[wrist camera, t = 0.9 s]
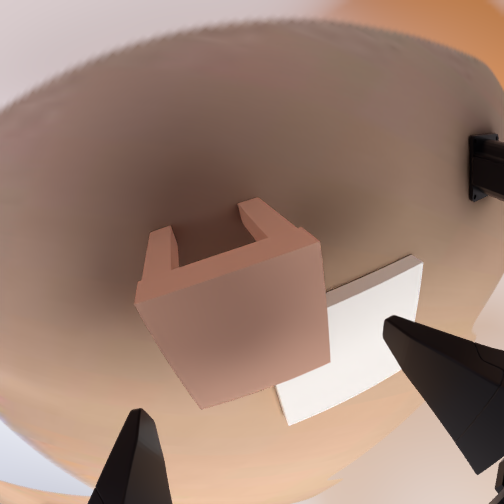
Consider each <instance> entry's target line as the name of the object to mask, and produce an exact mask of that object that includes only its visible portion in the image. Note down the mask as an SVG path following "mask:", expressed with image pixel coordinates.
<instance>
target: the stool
mask: <svg viewBox="0 0 504 504" xmlns="http://www.w3.org/2000/svg"><path fill="white" fill-rule="evenodd" d="M237 204H238V208H239V212H240V216H241V219H242V223H243V225H244V226H245V227H246V228H247V230H248V231H249V232H250V234H251V235H252V236H253V238H254V239H255V240H256V241H257V242H254V243H251V244H248V245H245V246H242V247H239V248H236V249H233V250H230V251H227V252H224V253H221V254H218V255H215V256H212V257H209V258H206V259H203V260H200V261H197V262H194V263H191V264H188V265H185V266H182V267H179V256H178V244H177V242H176V239H175V236H174V233H173V231H172V228H171V225H170V226H167V227H164V228H161V229H158V230H155V231H152V232H150V235H149V241H148V246H147V251H146V257H145V263H144V269H143V275H142V280H141V281H138V283H137V289H136V295H135V302H134V305H135V307H136V309H137V311H138V313H139V314H140V316H141V318H142V320H143V322H144V323H145V325H146V327H147V329H148V330H149V332H150V334H151V335H152V337H153V339H154V340H155V342H156V344H157V345H158V347H159V349H160V350H161V352H162V353H163V355H164V357H165V358H166V360H167V361H168V363H169V364H170V366H171V367H172V369H173V370H174V372H175V374H176V375H177V376H178V378H179V379H180V381H181V382H182V384H183V385H184V387H185V388H186V390H187V391H188V392H189V394H190V395H191V397H192V398H193V399H194V401H195V402H196V404H197V405H198V406H199V408H200V409H205V408H208V407H212V406H215V405H219V404H222V403H225V402H229V401H232V400H235V399H238V398H241V397H244V396H247V395H250V394H253V393H256V392H259V391H262V390H264V389H267V388H270V387H272V386H275V385H278V384H280V383H283V382H286V381H288V380H291V379H293V378H295V377H298V376H300V375H303V374H305V373H307V372H310V371H312V370H314V369H317V368H319V367H321V366H323V365H326V364H328V363H330V362H331V361H330V342H329V326H328V313H327V301H326V290H325V280H324V270H323V261H322V252H321V244H320V241H319V240H318V239H317V238H315V237H314V236H313V235H311V234H310V233H309V232H308V231H306V230H305V229H304V228H302V227H299V228H297V227H295V226H294V225H293V224H292V223H290V222H289V221H288V220H287V219H285V218H284V217H283V216H282V215H280V214H279V213H278V212H276V211H275V210H274V209H273V208H271V207H270V206H269V205H268V204H266V203H265V202H264V201H262V200H261V199H260V198H259V197H257V198H253V199H250V200H247V201H243V202H240V203H237Z"/></svg>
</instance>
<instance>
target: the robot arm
mask: <svg viewBox="0 0 504 504" xmlns="http://www.w3.org/2000/svg"><path fill="white" fill-rule="evenodd" d="M488 195H489V196H492V197H494V198H497V199H499V200H502V201H504V142H500V141H499V140H498V135H497V134H495V133H490V134H479V135H471V137H470V200H471V201H473V202H475V201H477V200H480V199H482V198H484V197H486V196H488ZM382 335H383V339H384V341H385V343H386V344H387V346H388V348H389V349H390V351H391V352H392V354H393V356H394V357H395V359H396V361H397V362H398V364H399V366H400V367H401V369H402V370H403V372H404V373H405V375H406V376H407V377H408V378H409V380H410V381H411V382H412V384H413V385H414V386H415V388H416V389H417V390H418V392H419V393H420V394H421V396H422V397H423V398H424V400H425V401H426V402H427V404H428V405H429V407H430V408H431V409H432V411H433V412H434V413H435V415H436V416H437V418H438V419H439V420H440V422H441V423H442V424H443V426H444V427H445V429H446V430H447V432H448V433H449V434H450V436H451V437H452V439H453V440H454V442H455V443H456V445H457V446H458V448H459V449H460V450H461V452H462V453H463V455H464V456H465V458H466V459H467V461H468V462H469V464H470V465H471V467H472V468H473V470H474V472H475V473H476V474H477V475H479V474H480V473H481V472H483V471H484V470H486V469H487V468H489V467H490V466H491V465H493V464H494V463H496V462H497V461H498V460H500V459H501V458H502V457H503V456H504V351H503V350H499V349H495V348H491V347H488V346H485V345H481V344H478V343H474V342H472V341H469V340H466V339H463V338H460V337H457V336H454V335H452V334H449V333H446V332H443V331H440V330H437V329H434V328H431V327H428V326H425V325H422V324H420V323H417V322H414V321H411V320H408V319H405V318H402V317H399V316H397V315H392V316H390V317H388V318H386V319H385V320H384V325H383V334H382ZM495 490H496V491H497V492H498V495H497V496H496V497H495V498H494V499H493V500H492V501H491V502H490V503H489V504H504V459H503V460H502V461H501V462H500V463H499V467H498V474H497V479H496V485H495ZM88 504H172V500H171V495H170V490H169V484H168V479H167V473H166V467H165V461H164V457H163V453H162V449H161V446H160V442H159V438H158V434H157V429H156V425H155V422H154V420H153V419H152V418H151V417H150V416H149V415H148V414H147V413H146V412H145V411H144V410H143V409H142V408H139V409H133V410H131V411H130V413H129V415H128V417H127V419H126V421H125V423H124V425H123V427H122V430H121V432H120V434H119V436H118V438H117V440H116V442H115V444H114V447H113V449H112V451H111V453H110V455H109V457H108V459H107V462H106V464H105V466H104V468H103V470H102V473H101V475H100V477H99V479H98V482H97V484H96V488H94V491H93V493H92V495H91V497H90V500H89V502H88Z"/></svg>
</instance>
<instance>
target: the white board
mask: <svg viewBox="0 0 504 504" xmlns="http://www.w3.org/2000/svg"><path fill="white" fill-rule="evenodd" d="M422 270H423V261H421V260H420V259H418V258H416V257H415V256H413V255H412V254H411V255H409V256H407V257H405V258H403V259H401V260H399V261H397V262H395V263H392V264H390V265H388V266H386V267H384V268H382V269H379V270H377V271H375V272H373V273H371V274H368V275H366V276H364V277H362V278H359V279H357V280H355V281H352V282H350V283H348V284H345V285H343V286H341V287H338V288H336V289H334V290H331V291H329V292H326V301H327V313H328V326H329V342H330V361H331V362H330V363H328V364H326V365H323V366H321V367H319V368H317V369H314V370H312V371H310V372H307V373H305V374H303V375H300V376H298V377H295V378H293V379H291V380H288V381H286V382H283V383H280V384H278V385H275V389H276V392H277V395H278V398H279V401H280V405H281V408H282V411H283V414H284V416H285V419H286V421H287V423H288V425H289V426H290V425H292V424H295V423H297V422H300V421H302V420H305V419H307V418H310V417H312V416H314V415H316V414H319V413H321V412H323V411H325V410H328V409H330V408H332V407H334V406H336V405H338V404H340V403H342V402H344V401H346V400H348V399H350V398H352V397H354V396H356V395H358V394H360V393H362V392H364V391H365V390H367V389H369V388H371V387H373V386H374V385H376V384H378V383H380V382H381V381H383V380H385V379H387V378H388V377H390V376H392V375H393V374H395V373H396V372H398V371H400V370H401V367H400V366H399V364H398V362H397V361H396V359H395V357H394V356H393V354H392V352H391V351H390V349H389V348H388V346H387V344H386V343H385V341H384V339H383V335H382V334H383V325H384V320H385V319H386V318H388V317H390V316H392V315H397V316H399V317H402V318H405V319H408V320H411V321H415V316H416V311H417V305H418V299H419V292H420V286H421V278H422Z"/></svg>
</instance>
